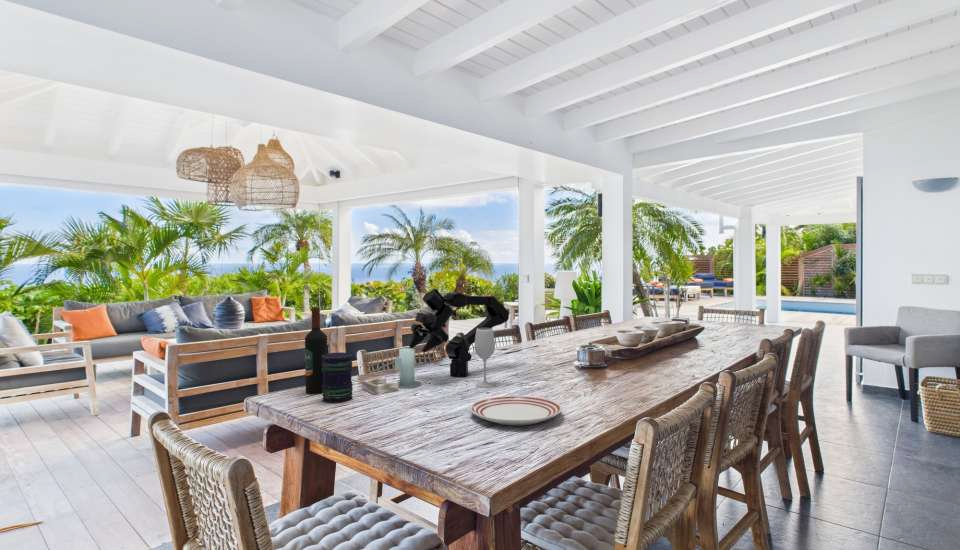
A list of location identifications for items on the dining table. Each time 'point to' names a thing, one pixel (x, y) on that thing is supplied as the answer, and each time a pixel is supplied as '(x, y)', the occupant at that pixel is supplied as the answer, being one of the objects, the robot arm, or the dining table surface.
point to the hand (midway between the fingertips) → (416, 350)
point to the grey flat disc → (410, 385)
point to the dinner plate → (515, 409)
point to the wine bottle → (314, 354)
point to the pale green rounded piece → (406, 366)
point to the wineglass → (484, 350)
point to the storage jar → (337, 377)
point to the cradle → (379, 386)
